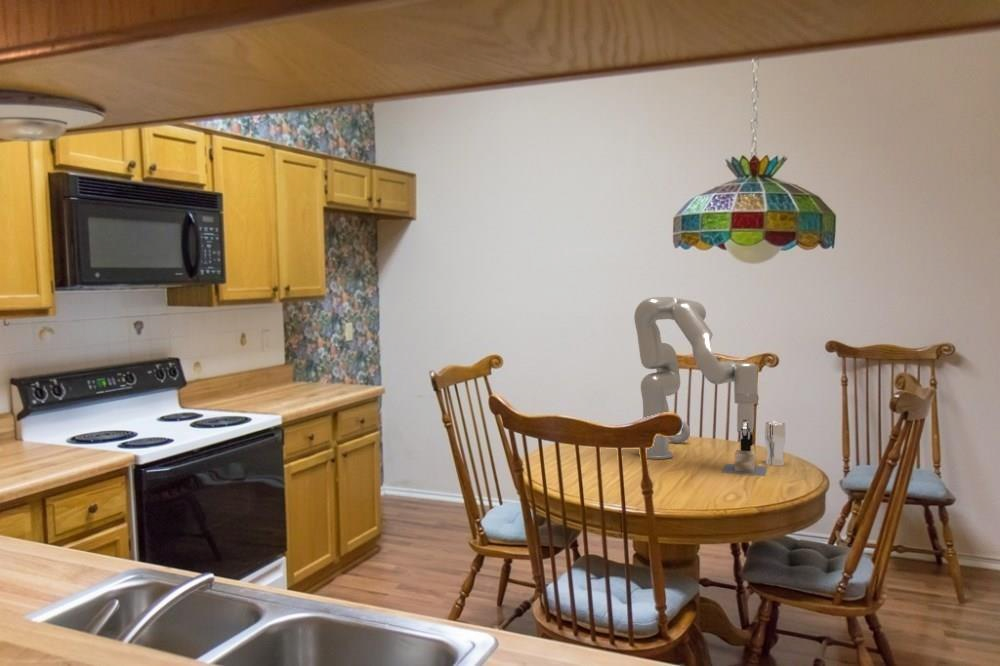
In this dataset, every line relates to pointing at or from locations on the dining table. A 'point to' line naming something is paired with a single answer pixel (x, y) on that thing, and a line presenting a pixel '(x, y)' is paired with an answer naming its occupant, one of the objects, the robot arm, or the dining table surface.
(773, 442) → the beer glass
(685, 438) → the donut
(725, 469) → the gray mat
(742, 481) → the dining table surface
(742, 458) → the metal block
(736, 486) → the dining table surface
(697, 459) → the dining table surface
